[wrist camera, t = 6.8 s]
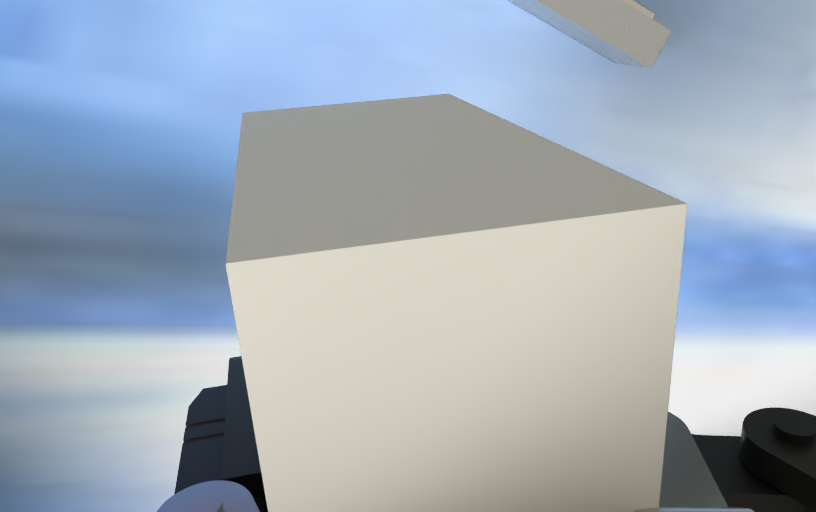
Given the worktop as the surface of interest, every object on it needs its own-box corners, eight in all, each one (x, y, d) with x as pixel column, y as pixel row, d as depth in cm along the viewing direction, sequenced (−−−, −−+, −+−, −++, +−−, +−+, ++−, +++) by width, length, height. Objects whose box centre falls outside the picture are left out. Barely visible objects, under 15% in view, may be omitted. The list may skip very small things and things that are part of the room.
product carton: (456, 92, 13) (702, 200, 6) (469, 497, 17) (634, 873, 10) (234, 113, 13) (206, 266, 5) (298, 531, 16) (334, 967, 9)
